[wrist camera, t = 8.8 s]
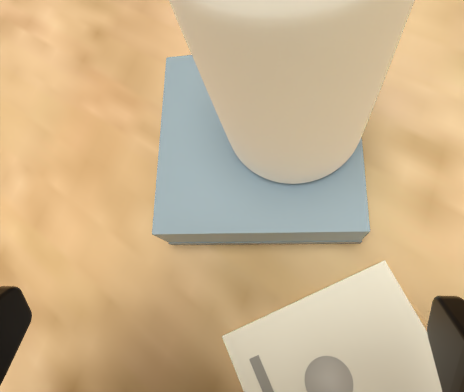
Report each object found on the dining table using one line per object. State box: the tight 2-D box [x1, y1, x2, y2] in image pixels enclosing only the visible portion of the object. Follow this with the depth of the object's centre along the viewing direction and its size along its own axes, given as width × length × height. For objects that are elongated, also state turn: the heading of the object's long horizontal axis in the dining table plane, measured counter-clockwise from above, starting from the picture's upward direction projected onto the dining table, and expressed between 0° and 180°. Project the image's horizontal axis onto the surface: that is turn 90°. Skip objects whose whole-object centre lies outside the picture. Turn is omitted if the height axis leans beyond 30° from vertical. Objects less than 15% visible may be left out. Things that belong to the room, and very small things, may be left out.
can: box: [169, 0, 415, 184], centre depth 12 cm, size 6×6×12 cm
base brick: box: [152, 55, 370, 245], centre depth 19 cm, size 10×10×3 cm
